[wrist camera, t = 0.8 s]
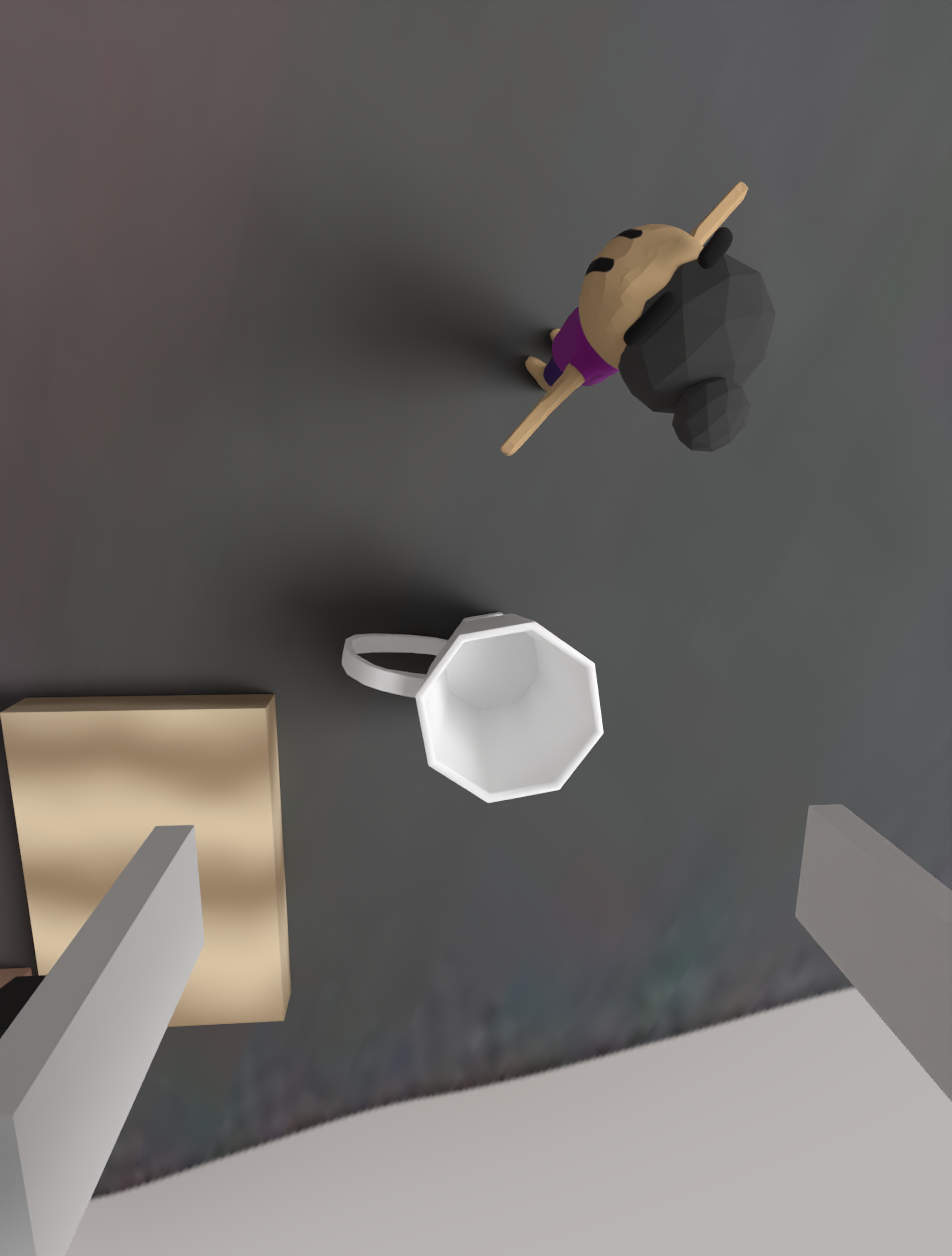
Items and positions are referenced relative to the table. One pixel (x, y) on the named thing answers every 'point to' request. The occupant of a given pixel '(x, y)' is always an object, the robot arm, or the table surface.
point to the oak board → (158, 796)
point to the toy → (664, 330)
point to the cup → (494, 702)
